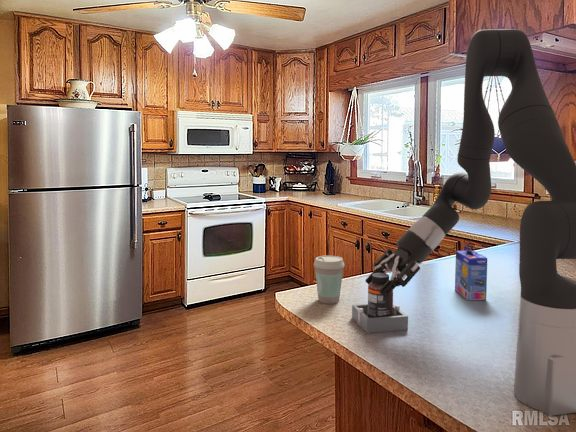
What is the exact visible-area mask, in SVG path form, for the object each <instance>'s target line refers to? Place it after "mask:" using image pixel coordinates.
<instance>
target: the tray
mask: <svg viewBox="0 0 576 432" xmlns="http://www.w3.org/2000/svg"><path fill="white" fill-rule="evenodd" d="M400 307H401V306H400V305H397V304H396V305H395V304H393V316H388V317H376V318H368V303H360V304H359V303H358V304H352V305H351V319H352V320H354V321H355V322H356V324H357V326H358V327H360V328H361V329H362V330H363V331H364V332H365V333H366V334H373V333H374V334H375V333H387V332H396V331H397V332H398V331H408V330H409V316H408V315H407V314H406V313H405V312H404V311H402V310H401V308H400Z"/></svg>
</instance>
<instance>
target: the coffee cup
mask: <svg viewBox="0 0 576 432" xmlns="http://www.w3.org/2000/svg"><path fill="white" fill-rule="evenodd" d="M345 266H346V265H345V262H344V260H343V258H342V257H341V256H338V255H337V256H336V255H319V256H317V257H315V259H314V261H313V267H314V271H315V281H316V290H317V298H318V301H319V303H323V304H330V305H331V304H337V303H339V301H340V299H341V297H340V296H341V290H342V289H341V288H342V283H343V281H342V280H343V273H344V267H345Z"/></svg>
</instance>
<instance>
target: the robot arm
mask: <svg viewBox="0 0 576 432" xmlns="http://www.w3.org/2000/svg"><path fill="white" fill-rule="evenodd" d="M468 43H469V44H468V45H467V46H468V47H467V50H466V51H467V52H466V57H465V58H466V59H465V69H464V70H465V74H464V87H463V88H464V93H463V97H464V99H463V121H462V129H461V135H460V141H459V148H458V153H457V157H456V158H457V160H456V161H457V164H458V166H460V168H462V170H464V171H465V172H461V171H460V172H456V173H454V174H452V175H450V176H449V177H448V178H447V179H446V180H445V182H444V184H443V185H442V187H441V190H440V191H439V193H438V195H437V197H436V198H435V200H434V202H433V204H432V205H431V206H430V208H428V209H427V211H426V212H425V213H424V214H423V215H422V216H421V217H420V218H419V219H418V220H417V221H415V222H414V223H413V224H412V225H411V226H410V227H409V228H408V229H407V230H406V232H405V233H403V235H402V236H401V237H400V238H399V239H398V240H397V241H396V247H397V249H396V250H394V251H393V250H392V249H391V248H388V249H387V250H386V251H385V252H384V253H383V254H382V255H381V256H380V257H379V258H378V259H376V261H375V262H374V263H373V267H374V270H373V271H372V272H371V273H370V275H369V276H367V277H366V278H365V283H366V284H367V286H368V285H369V283H371V282H372V274H374V273H385V274H391V276H390V277H389V280H388V281H387V282H386V283H385V284H384V285H383V286H382V287H381V288H380V289H379V293H380V294H381V295H382V296H384V297H387V296H388V295H389V294H390V293H391V292H392V290H393V291H394V290H395V288H396V287H403V288H404V287H406V285H408V284H409V283H410V281H411V280H412V279H413V278H414V277H415V276H416V275H417V273H418V272H419V271H420V270H421V267H420V266H419V265H421V264H422V263H423V262H424V261H425V260H426V259H427V258H428V257H429V255H430V254H431V253H433V251H434V250H435V249H436V248H437V247H438V246H439V245H440V244H441V242H442V241H443V239H444V238H445V237H446V236H447V235H448V233H450V231H452V229H454V227H455V226H456V225H457V224H458V222H459V220H460V215H459V213H458V211H457V209H455V208H454V207H453V206H454V204H455V203H458V204H460V205H462V206H464V207H466V208H468V209H471V210H479V209H481V208H483V207H484V206H485V205H486V204H487V203H488V201H489V200H490V197H491V193H492V180H491V179H492V177H491V165H490V161H491V156H492V151H493V147H494V142H495V137H496V136H495V134H496V133H495V127H494V126H495V125H494V122H493V120H492V117H491V115H490V113H489V111H488V108H487V106H486V103H485V100H484V94H483V83H484V78H485V77H505V78H507V79H508V80H509V82H510V85H511V91H510V93H509V95H508V96H507V99H506V100H505V101H504V103H503V105H502V108H501V109H500V112H499V114H498V119H497V126H498V129H499V133H500V137H501V139H502V143H503V146H504V149H505V151H506V153H507V155H508V156H509V157H510V159H511V160H513V162H514V163H515V164H517V165H518V167H520V168H521V169H522V170H523V171H525V172H526V173H527V174H529V175H530V176H531V177H532V178H533V179H535V180H536V181H537V182H538V183H539V184H541V186H542V187H543V188H544V189H545V190H546V192H547V193H548V195H549V196H550V197H551V200H536V201H532V202H530V203H529V204H527V205H526V207H525V208H524V210H523V212H522V215H521V219H520V223H519V224H520V225H519V263H518V264H519V267H518V269H519V270H518V273H519V281H520V283H519V284H520V297H519V298H520V300H519V313H518V323H517V324H518V327H517V338H516V339H517V340H516V351H515V353H516V355H515V365H514V366H515V369H514V382H513V383H514V385H513V394H514V396H515V398H516V399H517V400H519V401H520V402H521V403H522V404H524V405H526V406H528V407H530V408H531V409H535V410H538V411H540V412H543V413H544V414H546V415H547V416H549V417H550V416H551V417H552V416H560V415H567V414H573V413H576V280H575V279H572V278H569V277H567V276H564V275H560V274H559V273H558V270H557V269H558V268H557V267H558V266H557V260H576V162H575V159H574V157H573V155H572V154H571V151H570V148H569V146H568V144H567V143H566V140H565V138H564V134H563V131H562V129H561V126H560V124H559V121H558V119H557V116H556V114H555V112H554V110H553V107H552V105H551V103H550V101H549V99H548V97H547V94H546V91H545V89H544V86H543V83H542V80H541V77H540V75H539V72H538V69H537V63H536V61H535V57H534V52H533V48H532V45H531V42H530V40H529V37H528V36H527V34H526V32H524V31H523V30H520V29H517V28H516V29H515V28H495V29H493V28H492V29H491V28H490V29H488V28H487V29H479V30H477V31H476V32H475V33H474V34H473V35H472V36H471V37H470V41H469V42H468Z"/></svg>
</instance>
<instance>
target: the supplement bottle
mask: <svg viewBox="0 0 576 432" xmlns="http://www.w3.org/2000/svg"><path fill="white" fill-rule="evenodd" d="M388 280H390V274H389V273H386V274H385V273H374V274H372V282H371V283H369V285H368V284H367V304H368V318H376V317H388V316H393V305H394V289H393V290H392V292H391V293H390V294H389V295H388V296H387V297H384V296H382V295H381V294H380V293H379V289H380V288H381V287H382V286H383V285H384V284H385V283H386V282H387V281H388Z"/></svg>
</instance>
